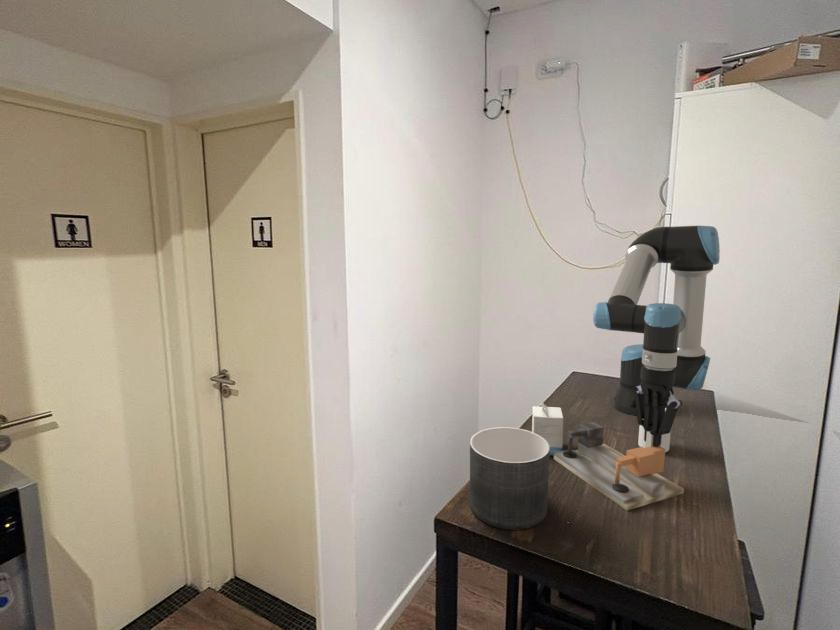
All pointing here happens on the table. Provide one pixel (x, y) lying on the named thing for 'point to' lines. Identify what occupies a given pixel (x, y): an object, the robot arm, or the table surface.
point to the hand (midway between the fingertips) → (651, 455)
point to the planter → (509, 477)
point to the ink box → (549, 426)
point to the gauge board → (611, 470)
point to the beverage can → (664, 440)
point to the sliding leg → (641, 461)
